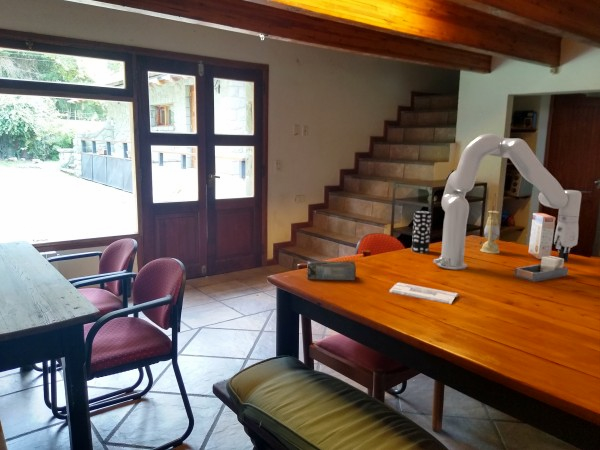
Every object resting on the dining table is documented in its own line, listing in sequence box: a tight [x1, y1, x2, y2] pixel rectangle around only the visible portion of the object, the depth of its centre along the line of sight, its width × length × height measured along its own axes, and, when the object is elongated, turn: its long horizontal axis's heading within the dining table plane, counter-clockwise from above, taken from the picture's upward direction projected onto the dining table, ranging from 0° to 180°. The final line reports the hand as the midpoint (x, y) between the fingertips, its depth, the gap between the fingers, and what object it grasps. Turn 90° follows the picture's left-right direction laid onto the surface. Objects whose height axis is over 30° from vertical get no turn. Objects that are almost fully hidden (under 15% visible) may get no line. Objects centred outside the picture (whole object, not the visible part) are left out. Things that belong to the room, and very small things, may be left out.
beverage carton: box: [306, 260, 357, 281], centre depth 180 cm, size 8×19×7 cm, turn 87°
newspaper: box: [388, 282, 459, 305], centre depth 163 cm, size 23×12×2 cm, turn 59°
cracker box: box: [527, 212, 556, 260], centre depth 222 cm, size 14×6×21 cm, turn 171°
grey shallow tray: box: [513, 263, 569, 283], centre depth 189 cm, size 22×9×3 cm, turn 119°
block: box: [540, 255, 565, 271], centre depth 192 cm, size 6×6×6 cm
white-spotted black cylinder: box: [411, 210, 432, 254], centre depth 228 cm, size 8×8×20 cm
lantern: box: [479, 193, 500, 255], centre depth 230 cm, size 12×10×30 cm
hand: (562, 261), depth 196 cm, fingers closed
